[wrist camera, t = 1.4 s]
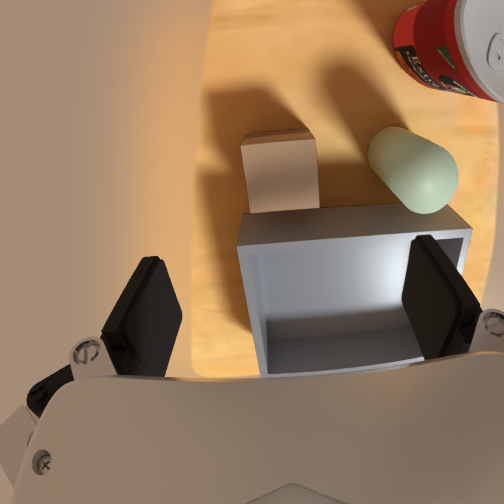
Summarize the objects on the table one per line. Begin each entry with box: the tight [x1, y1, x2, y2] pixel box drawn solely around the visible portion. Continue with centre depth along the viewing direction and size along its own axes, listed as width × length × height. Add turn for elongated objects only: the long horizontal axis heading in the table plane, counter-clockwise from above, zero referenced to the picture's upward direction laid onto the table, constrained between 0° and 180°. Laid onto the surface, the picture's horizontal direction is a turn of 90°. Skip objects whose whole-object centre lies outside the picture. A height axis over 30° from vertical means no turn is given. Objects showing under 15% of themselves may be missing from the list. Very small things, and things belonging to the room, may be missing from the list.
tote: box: [236, 203, 473, 378], centre depth 28 cm, size 17×20×6 cm
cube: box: [241, 128, 320, 213], centre depth 23 cm, size 5×5×5 cm
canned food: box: [393, 0, 504, 104], centre depth 13 cm, size 8×8×11 cm
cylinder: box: [368, 126, 458, 214], centre depth 21 cm, size 5×5×7 cm
